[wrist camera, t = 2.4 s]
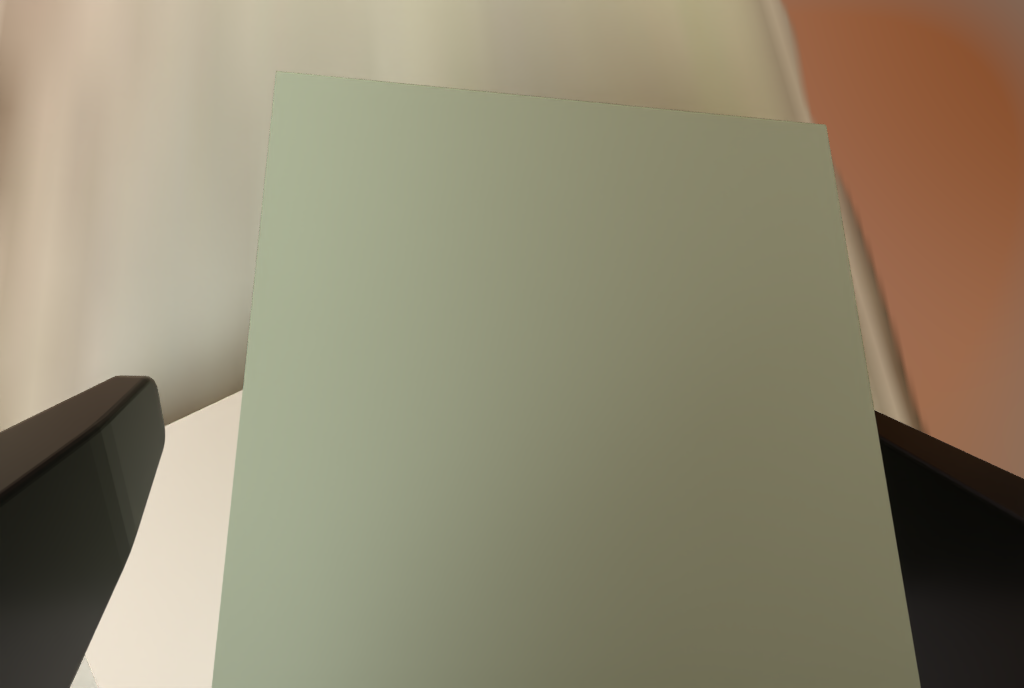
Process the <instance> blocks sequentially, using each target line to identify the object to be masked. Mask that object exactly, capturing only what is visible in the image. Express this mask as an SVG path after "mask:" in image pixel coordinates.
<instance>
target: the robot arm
mask: <svg viewBox="0 0 1024 688" xmlns="http://www.w3.org/2000/svg"><path fill="white" fill-rule="evenodd" d="M874 412H875V418H876V424H877V430H878V436H879V442H880V448H881V454H882V460H883V466H884V472H885V478H886V484H887V490H888V496H889V502H890V508H891V513H892V519H893V525H894V531H895V537H896V543H897V549H898V555H899V561H900V567H901V573H902V579H903V585H904V591H905V597H906V603H907V608H908V614H909V620H910V626H911V632H912V638H913V644H914V650H915V656H916V662H917V668H918V674H919V680H920V686H921V688H1024V479H1023V478H1021V477H1019V476H1016V475H1014V474H1012V473H1010V472H1008V471H1005V470H1003V469H1001V468H999V467H997V466H994V465H992V464H990V463H988V462H986V461H983V460H981V459H979V458H977V457H975V456H972V455H970V454H968V453H966V452H964V451H962V450H960V449H958V448H955V447H953V446H951V445H949V444H947V443H944V442H942V441H940V440H938V439H936V438H934V437H931V436H929V435H927V434H925V433H923V432H921V431H918V430H916V429H914V428H912V427H910V426H908V425H905V424H903V423H901V422H899V421H897V420H894V419H892V418H890V417H888V416H886V415H884V414H881V413H879V412H877V411H875V410H874ZM164 444H165V426H164V421H163V415H162V410H161V405H160V399H159V394H158V389H157V385H156V383H155V381H154V380H153V379H152V378H150V377H148V376H115V377H113V378H110V379H108V380H106V381H104V382H102V383H100V384H98V385H96V386H94V387H92V388H90V389H88V390H86V391H84V392H82V393H80V394H78V395H76V396H74V397H71V398H69V399H67V400H65V401H63V402H61V403H59V404H57V405H55V406H53V407H51V408H49V409H47V410H45V411H43V412H41V413H39V414H37V415H35V416H32V417H30V418H28V419H26V420H24V421H22V422H20V423H18V424H16V425H14V426H12V427H10V428H8V429H6V430H4V431H2V432H0V688H70V686H71V684H72V682H73V680H74V677H75V675H76V673H77V671H78V669H79V666H80V664H81V662H82V660H83V658H84V655H85V653H86V651H87V649H88V647H89V644H90V642H91V640H92V638H93V636H94V633H95V631H96V629H97V627H98V625H99V622H100V620H101V618H102V616H103V614H104V611H105V609H106V607H107V605H108V602H109V600H110V598H111V596H112V594H113V591H114V589H115V587H116V585H117V583H118V580H119V578H120V576H121V574H122V572H123V569H124V567H125V565H126V562H127V560H128V557H129V555H130V553H131V550H132V547H133V544H134V541H135V538H136V535H137V532H138V529H139V526H140V523H141V520H142V516H143V513H144V510H145V507H146V504H147V500H148V497H149V494H150V491H151V487H152V484H153V481H154V478H155V475H156V471H157V468H158V465H159V462H160V459H161V455H162V452H163V449H164Z"/></svg>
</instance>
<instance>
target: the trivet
mask: <svg viewBox="0 0 1024 688" xmlns="http://www.w3.org/2000/svg"><path fill="white" fill-rule="evenodd" d="M242 392H243V390H241V391H239V392H237V393H235V394H233V395H230V396H228V397H226V398H224V399H222V400H220V401H218V402H215V403H213V404H211V405H209V406H207V407H205V408H203V409H201V410H198V411H196V412H194V413H192V414H190V415H188V416H186V417H184V418H181V419H179V420H177V421H175V422H173V423H171V424H169V425H166V426H165V444H164V449H163V452H162V455H161V459H160V462H159V465H158V468H157V471H156V475H155V478H154V481H153V484H152V487H151V491H150V494H149V497H148V500H147V504H146V507H145V510H144V513H143V516H142V520H141V523H140V526H139V529H138V532H137V535H136V538H135V541H134V544H133V547H132V550H131V553H130V555H129V557H128V560H127V562H126V565H125V567H124V569H123V572H122V574H121V576H120V578H119V580H118V583H117V585H116V587H115V589H114V591H113V594H112V596H111V598H110V600H109V602H108V605H107V607H106V609H105V611H104V614H103V616H102V618H101V620H100V622H99V625H98V627H97V629H96V631H95V633H94V636H93V638H92V640H91V642H90V644H89V647H88V649H87V651H86V653H85V657H86V659H87V662H88V664H89V667H90V669H91V671H92V674H93V676H94V679H95V681H96V684H97V686H98V688H212V679H213V670H214V660H215V651H216V641H217V631H218V622H219V612H220V603H221V593H222V584H223V574H224V564H225V555H226V545H227V536H228V526H229V517H230V507H231V497H232V488H233V478H234V469H235V459H236V450H237V440H238V430H239V421H240V411H241V402H242Z"/></svg>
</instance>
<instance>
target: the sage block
mask: <svg viewBox="0 0 1024 688" xmlns="http://www.w3.org/2000/svg"><path fill="white" fill-rule="evenodd" d="M212 688H921V686H920V680H919V674H918V668H917V662H916V656H915V650H914V644H913V638H912V632H911V626H910V620H909V614H908V608H907V603H906V597H905V591H904V585H903V579H902V573H901V567H900V561H899V555H898V549H897V543H896V537H895V531H894V525H893V519H892V513H891V508H890V502H889V496H888V490H887V484H886V478H885V472H884V466H883V460H882V454H881V448H880V442H879V436H878V430H877V424H876V418H875V412H874V407H873V401H872V395H871V389H870V383H869V377H868V371H867V365H866V359H865V353H864V347H863V341H862V335H861V329H860V323H859V317H858V312H857V306H856V300H855V294H854V288H853V282H852V276H851V270H850V264H849V258H848V252H847V246H846V240H845V234H844V228H843V222H842V216H841V211H840V205H839V199H838V193H837V187H836V181H835V175H834V169H833V163H832V157H831V151H830V146H829V140H828V133H827V128H826V125H823V124H812V123H802V122H792V121H782V120H771V119H761V118H751V117H741V116H731V115H720V114H710V113H700V112H690V111H680V110H669V109H659V108H649V107H639V106H629V105H618V104H608V103H598V102H588V101H577V100H567V99H557V98H547V97H537V96H526V95H516V94H506V93H496V92H486V91H475V90H465V89H455V88H445V87H434V86H424V85H414V84H404V83H394V82H383V81H373V80H363V79H353V78H343V77H332V76H322V75H312V74H302V73H292V72H281V71H276V76H275V86H274V96H273V105H272V115H271V124H270V134H269V143H268V153H267V163H266V172H265V182H264V191H263V201H262V210H261V220H260V230H259V239H258V249H257V258H256V268H255V277H254V287H253V297H252V306H251V316H250V325H249V335H248V344H247V354H246V363H245V373H244V383H243V392H242V402H241V411H240V421H239V430H238V440H237V450H236V459H235V469H234V478H233V488H232V497H231V507H230V517H229V526H228V536H227V545H226V555H225V564H224V574H223V584H222V593H221V603H220V612H219V622H218V631H217V641H216V651H215V660H214V670H213V679H212Z"/></svg>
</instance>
